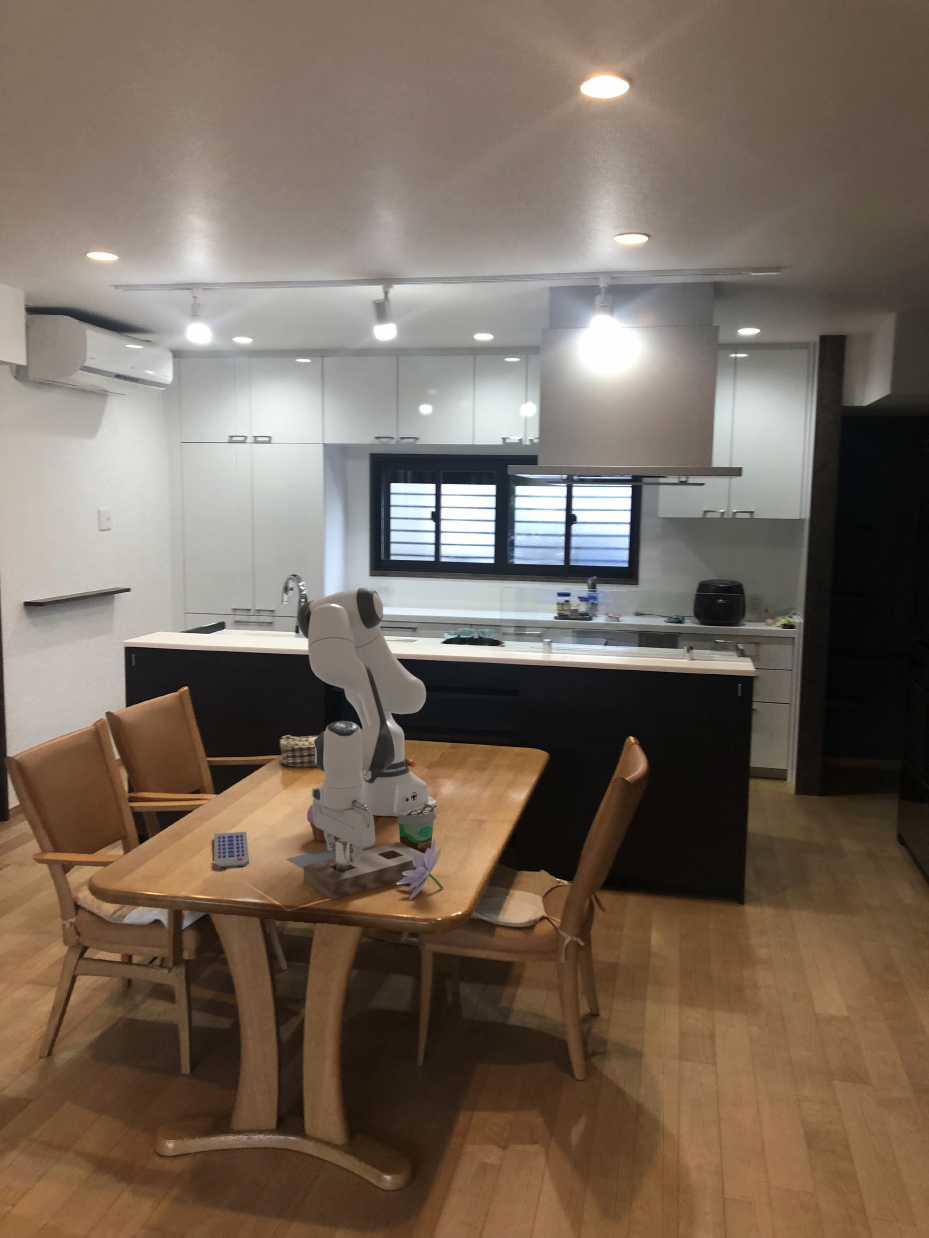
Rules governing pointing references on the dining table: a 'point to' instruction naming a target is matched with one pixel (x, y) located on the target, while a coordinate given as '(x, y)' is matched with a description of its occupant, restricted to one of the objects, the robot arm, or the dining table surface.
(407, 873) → the water lily
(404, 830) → the food container
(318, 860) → the mat
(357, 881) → the hole block
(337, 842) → the peg
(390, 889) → the dining table surface
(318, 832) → the cupcake
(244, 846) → the remote control
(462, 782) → the dining table surface
